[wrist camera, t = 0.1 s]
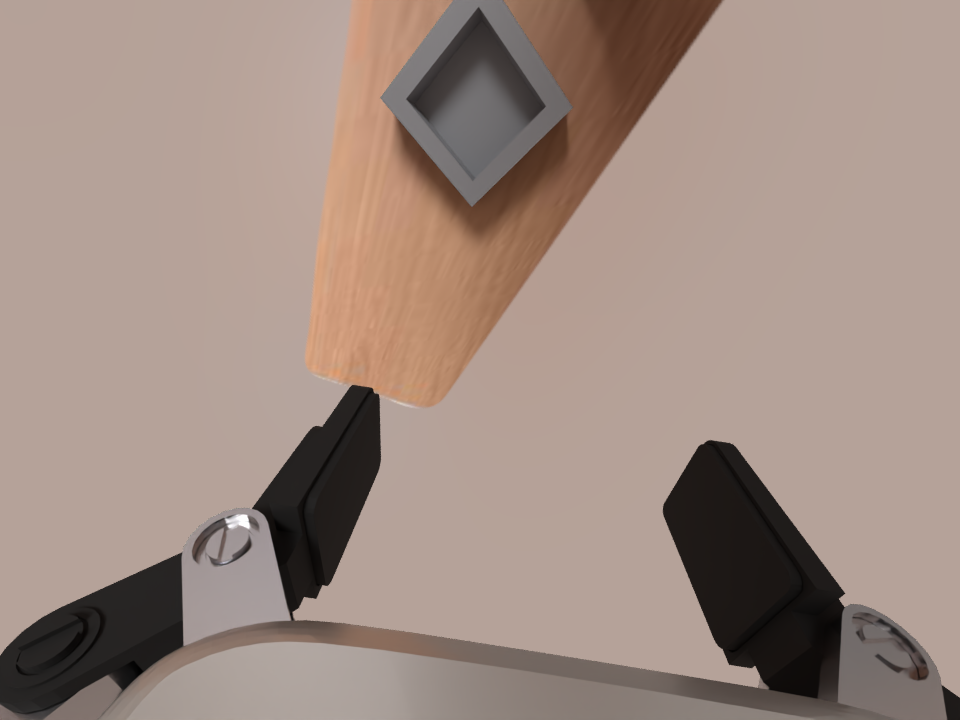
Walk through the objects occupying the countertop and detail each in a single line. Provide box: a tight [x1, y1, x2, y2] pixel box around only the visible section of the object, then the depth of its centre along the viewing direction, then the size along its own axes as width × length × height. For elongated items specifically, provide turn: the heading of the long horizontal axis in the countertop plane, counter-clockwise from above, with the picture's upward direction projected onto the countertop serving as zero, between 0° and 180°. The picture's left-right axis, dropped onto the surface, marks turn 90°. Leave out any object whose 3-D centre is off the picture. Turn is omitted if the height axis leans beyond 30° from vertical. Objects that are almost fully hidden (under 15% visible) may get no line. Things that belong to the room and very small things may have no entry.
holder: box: [380, 0, 573, 207], centre depth 30 cm, size 11×11×4 cm
